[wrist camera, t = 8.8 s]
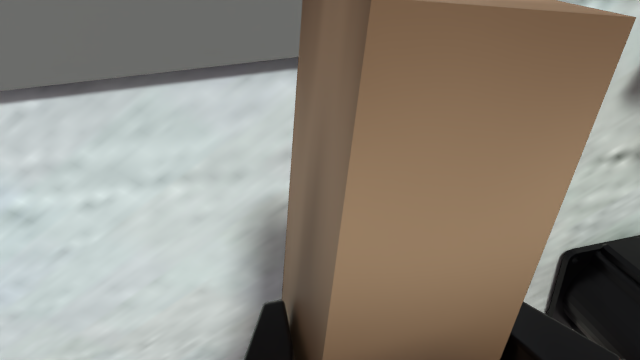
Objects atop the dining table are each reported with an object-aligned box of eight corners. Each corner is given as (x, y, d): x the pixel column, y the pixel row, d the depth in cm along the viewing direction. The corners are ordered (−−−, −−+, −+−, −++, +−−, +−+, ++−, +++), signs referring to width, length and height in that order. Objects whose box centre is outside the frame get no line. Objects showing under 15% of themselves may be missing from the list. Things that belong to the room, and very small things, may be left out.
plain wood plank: (373, 420, 13) (420, 561, 10) (272, 435, 13) (291, 590, 10) (474, -18, 8) (636, 17, 5) (304, -33, 7) (371, -4, 4)
